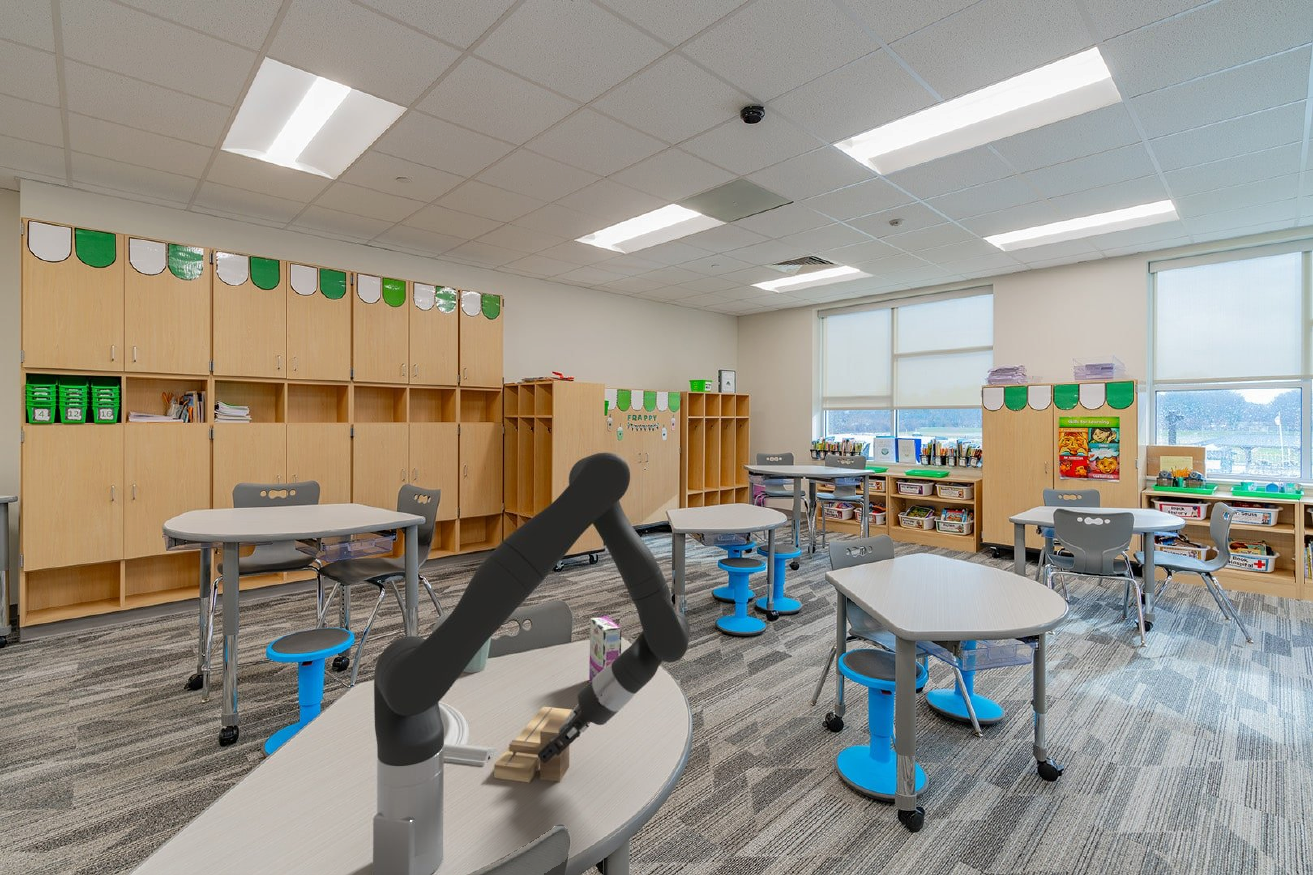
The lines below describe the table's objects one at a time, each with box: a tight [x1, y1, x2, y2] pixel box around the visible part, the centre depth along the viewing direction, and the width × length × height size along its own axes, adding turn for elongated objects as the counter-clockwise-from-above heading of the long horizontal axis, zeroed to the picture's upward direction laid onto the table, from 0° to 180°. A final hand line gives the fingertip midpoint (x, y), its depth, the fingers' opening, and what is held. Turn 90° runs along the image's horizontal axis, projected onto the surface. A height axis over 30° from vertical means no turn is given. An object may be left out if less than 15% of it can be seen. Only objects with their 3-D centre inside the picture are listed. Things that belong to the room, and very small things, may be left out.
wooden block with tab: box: [508, 719, 571, 782], centre depth 113 cm, size 5×11×9 cm, turn 79°
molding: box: [438, 700, 498, 767], centre depth 131 cm, size 42×12×3 cm, turn 34°
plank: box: [493, 706, 573, 783], centre depth 122 cm, size 24×7×3 cm, turn 169°
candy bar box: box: [588, 616, 623, 682], centre depth 151 cm, size 11×5×16 cm, turn 25°
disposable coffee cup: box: [463, 636, 492, 674], centre depth 161 cm, size 11×11×15 cm
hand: (550, 746), depth 113 cm, fingers open, 8 cm apart
